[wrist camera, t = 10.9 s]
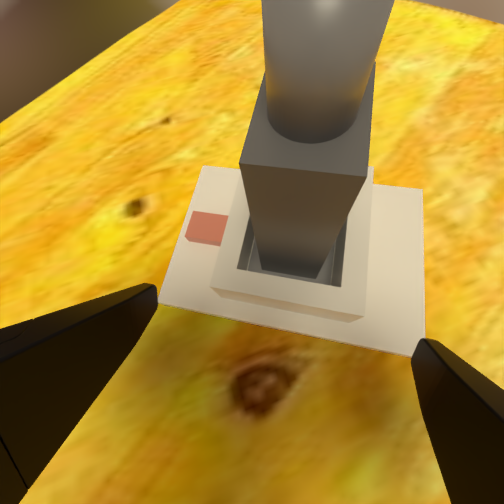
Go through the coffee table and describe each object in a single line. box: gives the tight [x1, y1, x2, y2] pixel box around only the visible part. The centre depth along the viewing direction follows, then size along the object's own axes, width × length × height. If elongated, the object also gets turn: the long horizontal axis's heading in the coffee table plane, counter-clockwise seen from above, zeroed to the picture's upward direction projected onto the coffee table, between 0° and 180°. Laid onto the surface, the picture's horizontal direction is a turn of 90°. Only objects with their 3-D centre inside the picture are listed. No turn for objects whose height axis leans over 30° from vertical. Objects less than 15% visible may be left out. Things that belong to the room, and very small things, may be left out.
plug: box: [239, 0, 394, 279], centre depth 11 cm, size 4×3×13 cm
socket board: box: [158, 165, 425, 358], centre depth 16 cm, size 11×16×4 cm
